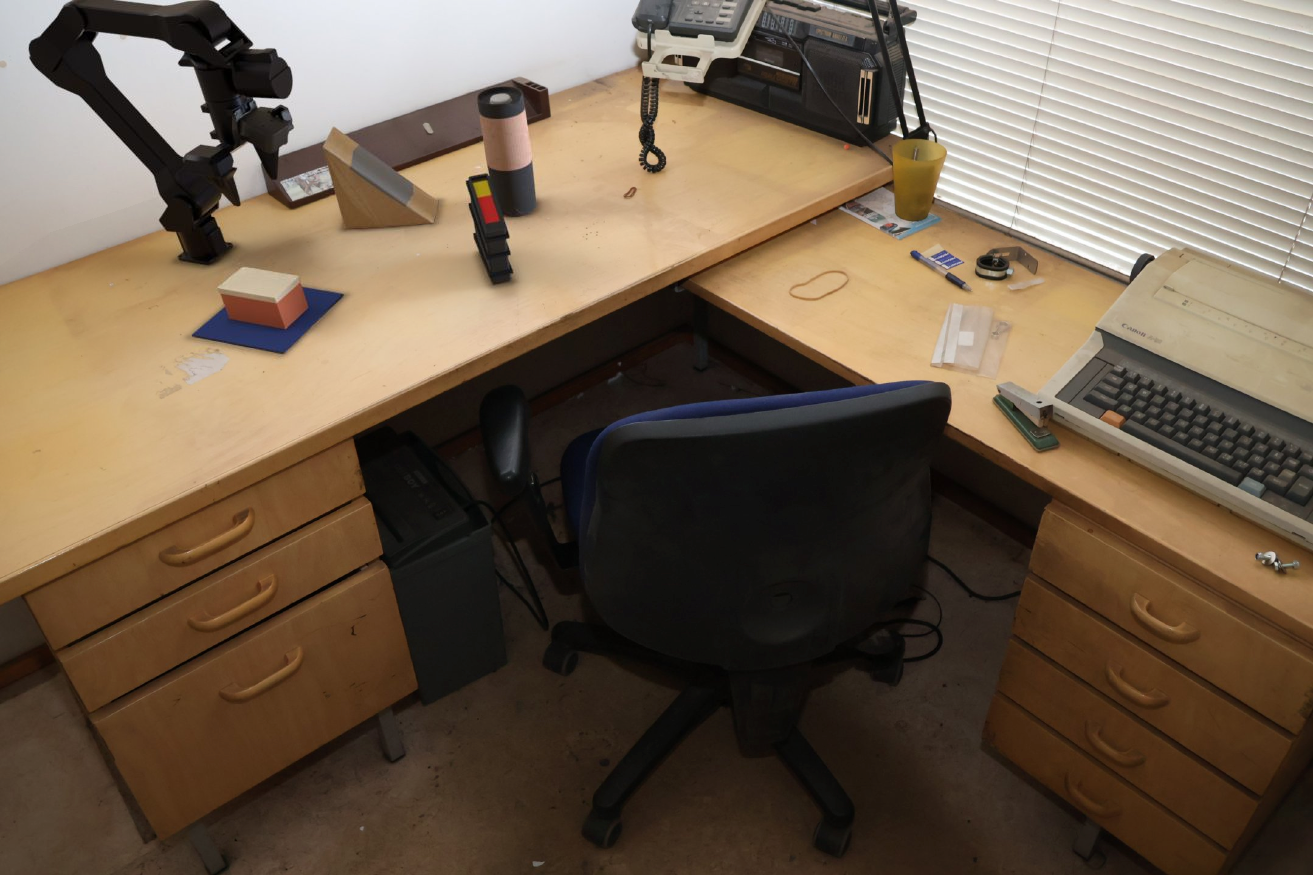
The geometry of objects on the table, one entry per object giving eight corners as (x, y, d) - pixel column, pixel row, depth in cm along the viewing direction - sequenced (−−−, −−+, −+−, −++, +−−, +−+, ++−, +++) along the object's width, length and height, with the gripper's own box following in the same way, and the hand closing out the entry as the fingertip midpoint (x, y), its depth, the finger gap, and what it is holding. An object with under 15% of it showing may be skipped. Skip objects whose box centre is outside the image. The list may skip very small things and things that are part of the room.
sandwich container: (434, 224, 172) (416, 141, 162) (344, 229, 172) (321, 147, 162) (439, 200, 178) (423, 119, 169) (353, 205, 178) (331, 124, 168)
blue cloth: (192, 336, 149) (191, 334, 149) (257, 280, 160) (257, 279, 160) (282, 353, 145) (282, 352, 144) (343, 295, 156) (343, 293, 156)
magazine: (493, 230, 166) (489, 170, 152) (514, 296, 161) (512, 240, 147) (471, 235, 165) (465, 175, 151) (491, 301, 160) (487, 245, 147)
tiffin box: (228, 319, 151) (216, 287, 148) (253, 297, 156) (242, 266, 152) (285, 329, 149) (274, 297, 145) (309, 307, 153) (299, 275, 149)
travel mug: (495, 198, 178) (477, 87, 165) (538, 195, 178) (523, 84, 165) (493, 219, 172) (474, 106, 159) (538, 216, 173) (523, 102, 159)
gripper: (228, 126, 138) (261, 227, 149) (307, 76, 151) (333, 172, 162) (163, 118, 142) (200, 217, 152) (247, 69, 155) (276, 164, 165)
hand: (256, 192), depth 157 cm, fingers open, 9 cm apart
